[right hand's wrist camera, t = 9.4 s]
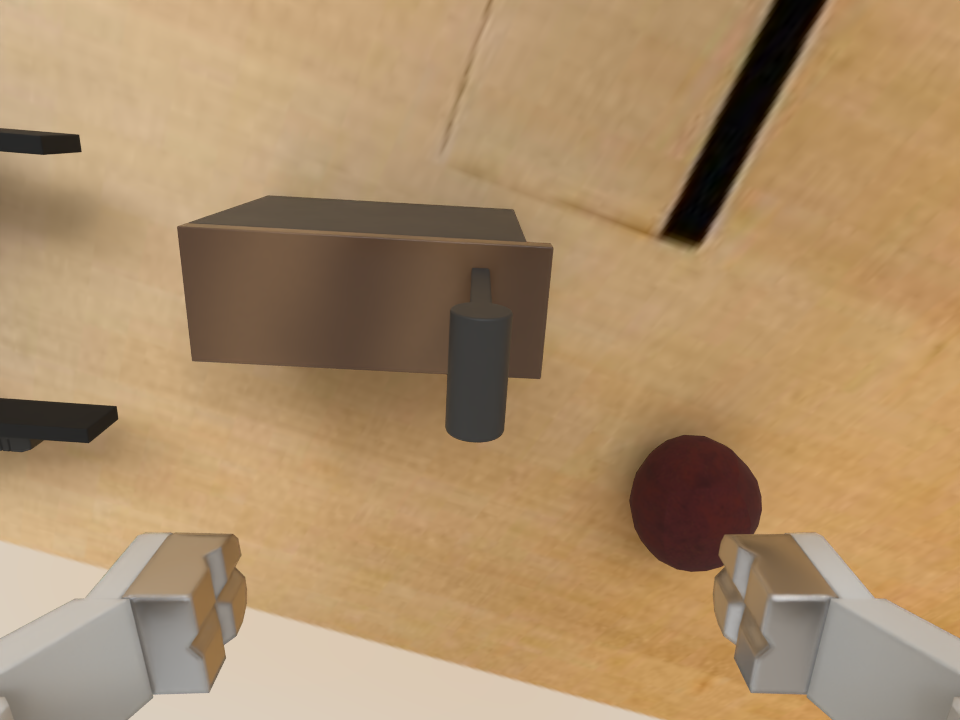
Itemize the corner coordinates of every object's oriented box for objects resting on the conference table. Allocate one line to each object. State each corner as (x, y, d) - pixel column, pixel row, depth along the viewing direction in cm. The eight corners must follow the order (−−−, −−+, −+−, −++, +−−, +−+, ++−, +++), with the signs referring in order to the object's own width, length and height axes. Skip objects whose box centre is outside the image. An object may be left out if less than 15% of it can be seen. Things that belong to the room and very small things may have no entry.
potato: (622, 528, 41) (649, 604, 35) (614, 423, 39) (642, 485, 32) (735, 514, 41) (784, 589, 34) (734, 407, 38) (787, 466, 32)
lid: (551, 243, 25) (583, 296, 17) (538, 371, 27) (562, 471, 19) (186, 223, 25) (54, 267, 17) (200, 354, 27) (87, 448, 19)
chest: (513, 209, 34) (527, 241, 25) (506, 306, 36) (516, 370, 27) (267, 195, 34) (186, 222, 25) (273, 293, 36) (200, 354, 27)
